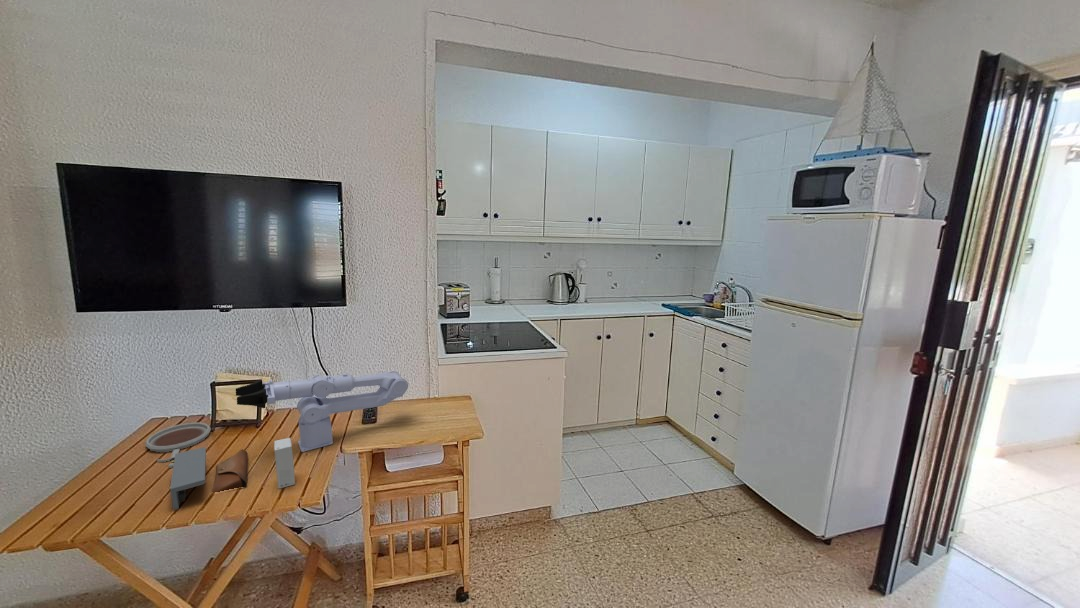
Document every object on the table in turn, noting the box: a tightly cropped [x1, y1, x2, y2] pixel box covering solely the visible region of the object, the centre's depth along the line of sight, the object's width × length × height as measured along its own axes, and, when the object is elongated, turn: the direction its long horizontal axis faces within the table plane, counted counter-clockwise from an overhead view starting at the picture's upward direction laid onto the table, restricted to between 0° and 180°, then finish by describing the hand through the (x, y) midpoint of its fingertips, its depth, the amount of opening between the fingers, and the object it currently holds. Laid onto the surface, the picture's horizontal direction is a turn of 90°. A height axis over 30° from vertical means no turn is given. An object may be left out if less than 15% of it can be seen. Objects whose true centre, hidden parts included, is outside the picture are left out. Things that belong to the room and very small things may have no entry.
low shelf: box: [169, 446, 207, 511], centre depth 120 cm, size 7×20×6 cm, turn 37°
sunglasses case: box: [210, 449, 249, 493], centre depth 126 cm, size 18×7×7 cm, turn 34°
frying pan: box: [145, 422, 212, 469], centre depth 140 cm, size 17×3×28 cm
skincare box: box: [273, 437, 296, 490], centre depth 123 cm, size 6×4×12 cm
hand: (236, 396), depth 128 cm, fingers open, 7 cm apart
